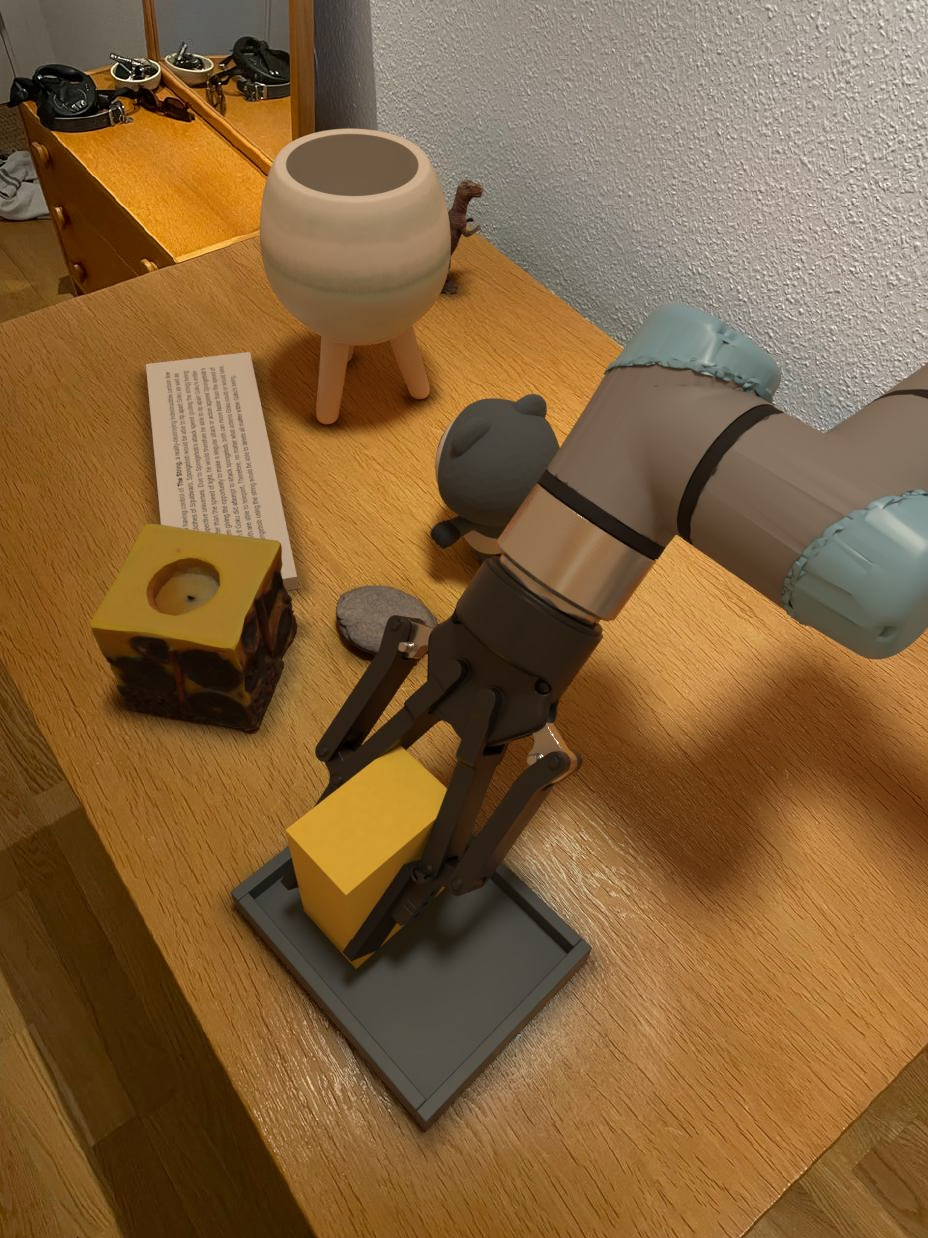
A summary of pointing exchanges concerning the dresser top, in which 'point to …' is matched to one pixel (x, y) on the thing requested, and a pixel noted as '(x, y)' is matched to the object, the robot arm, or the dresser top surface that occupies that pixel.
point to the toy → (490, 468)
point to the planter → (356, 247)
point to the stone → (375, 614)
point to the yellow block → (363, 842)
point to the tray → (426, 979)
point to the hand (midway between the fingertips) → (329, 915)
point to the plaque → (215, 451)
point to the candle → (197, 625)
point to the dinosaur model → (461, 221)
